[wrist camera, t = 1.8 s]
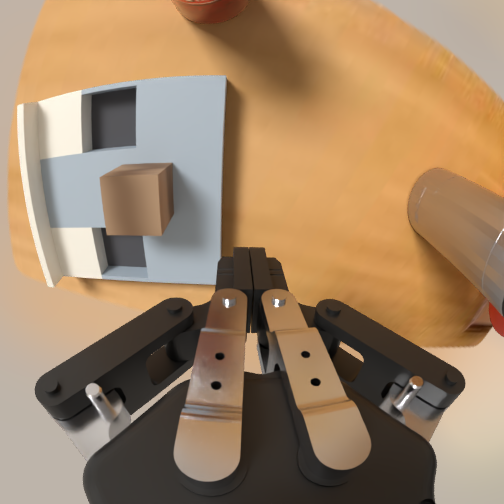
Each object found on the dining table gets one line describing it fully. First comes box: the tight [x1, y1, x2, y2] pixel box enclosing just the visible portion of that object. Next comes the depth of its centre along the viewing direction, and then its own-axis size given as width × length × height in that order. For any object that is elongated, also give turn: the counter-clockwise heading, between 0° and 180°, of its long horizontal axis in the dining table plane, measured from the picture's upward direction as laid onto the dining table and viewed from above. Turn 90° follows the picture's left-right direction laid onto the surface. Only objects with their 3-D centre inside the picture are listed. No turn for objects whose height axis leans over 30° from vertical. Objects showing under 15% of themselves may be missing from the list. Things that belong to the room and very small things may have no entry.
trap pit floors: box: [91, 88, 147, 267], centre depth 26 cm, size 6×20×1 cm, turn 177°
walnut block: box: [99, 163, 174, 236], centre depth 22 cm, size 5×5×5 cm
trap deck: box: [38, 75, 227, 285], centre depth 26 cm, size 21×21×2 cm
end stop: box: [17, 102, 63, 287], centre depth 23 cm, size 1×21×2 cm, turn 177°
